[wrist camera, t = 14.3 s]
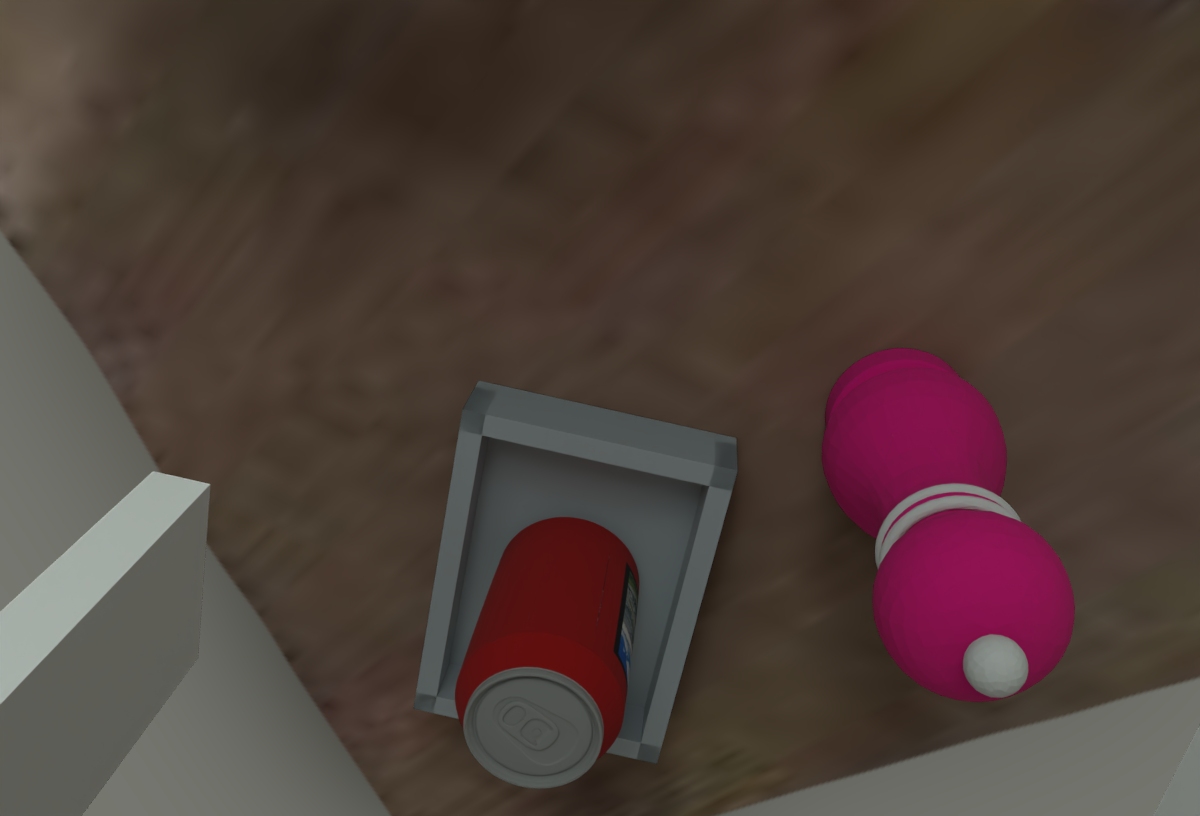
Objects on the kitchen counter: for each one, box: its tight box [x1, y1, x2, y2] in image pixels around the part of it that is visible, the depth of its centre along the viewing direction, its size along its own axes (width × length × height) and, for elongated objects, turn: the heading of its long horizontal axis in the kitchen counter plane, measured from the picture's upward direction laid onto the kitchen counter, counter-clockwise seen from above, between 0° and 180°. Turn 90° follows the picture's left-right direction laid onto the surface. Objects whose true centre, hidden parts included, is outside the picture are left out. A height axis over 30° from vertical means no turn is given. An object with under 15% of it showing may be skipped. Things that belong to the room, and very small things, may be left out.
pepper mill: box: [822, 348, 1075, 702], centre depth 40 cm, size 7×7×20 cm
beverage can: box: [455, 517, 639, 789], centre depth 48 cm, size 7×7×12 cm
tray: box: [414, 381, 738, 764], centre depth 52 cm, size 16×12×4 cm
